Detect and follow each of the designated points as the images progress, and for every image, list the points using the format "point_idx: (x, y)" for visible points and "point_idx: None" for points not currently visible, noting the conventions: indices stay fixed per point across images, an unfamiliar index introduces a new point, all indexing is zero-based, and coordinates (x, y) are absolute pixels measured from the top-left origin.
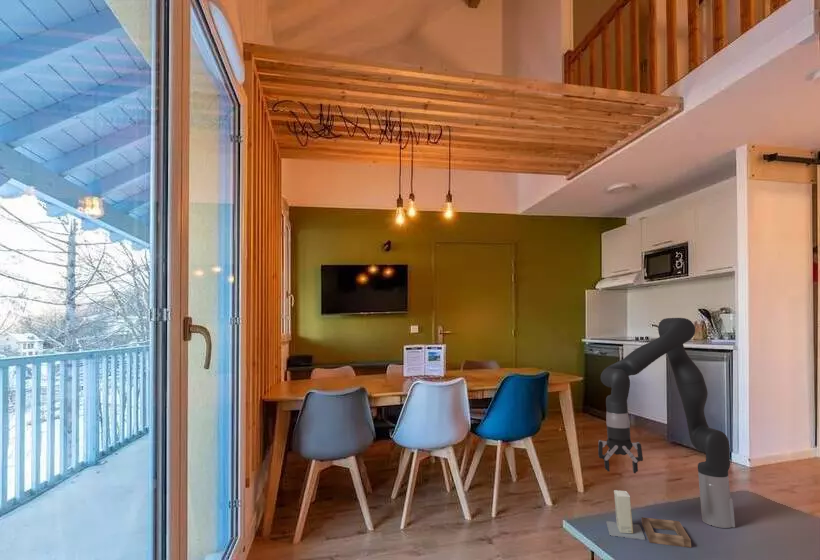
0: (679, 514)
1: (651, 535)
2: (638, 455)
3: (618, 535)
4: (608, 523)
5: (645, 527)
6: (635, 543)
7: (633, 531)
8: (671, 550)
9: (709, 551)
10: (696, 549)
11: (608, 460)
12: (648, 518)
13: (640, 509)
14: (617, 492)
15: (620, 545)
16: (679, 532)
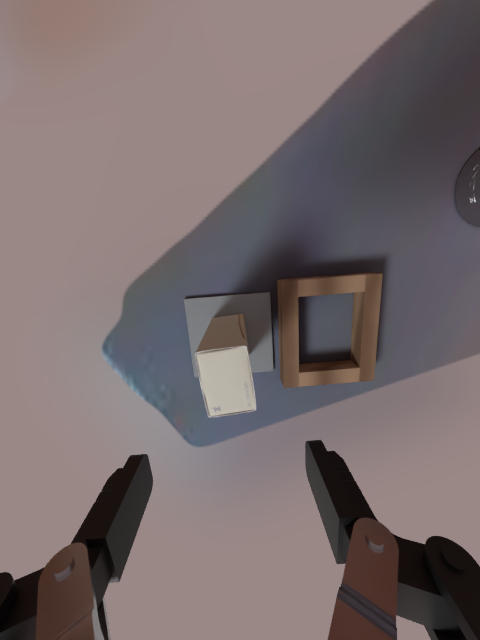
0: (404, 150)
1: (288, 386)
2: (459, 612)
3: None
4: (190, 313)
5: (282, 339)
6: None
7: (250, 340)
8: (318, 397)
9: (395, 374)
10: None
11: (113, 569)
12: (299, 283)
13: (288, 148)
14: (209, 376)
15: None
16: (360, 345)
